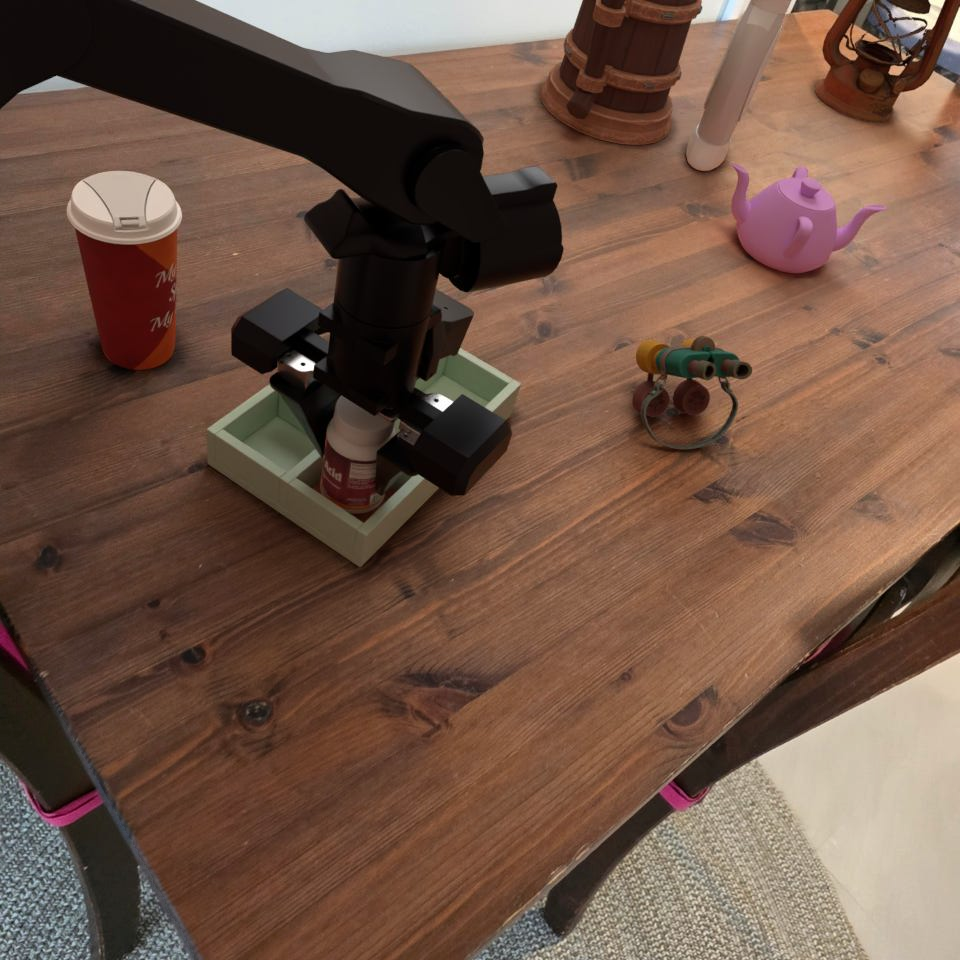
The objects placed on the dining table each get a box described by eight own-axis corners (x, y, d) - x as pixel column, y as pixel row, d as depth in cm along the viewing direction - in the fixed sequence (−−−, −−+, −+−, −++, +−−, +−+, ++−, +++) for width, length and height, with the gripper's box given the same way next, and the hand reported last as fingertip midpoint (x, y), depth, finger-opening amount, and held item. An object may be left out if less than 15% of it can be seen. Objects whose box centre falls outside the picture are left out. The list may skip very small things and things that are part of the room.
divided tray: (207, 463, 66) (206, 428, 63) (377, 335, 80) (383, 301, 77) (360, 568, 63) (366, 535, 60) (511, 415, 76) (521, 383, 74)
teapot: (848, 271, 105) (889, 206, 98) (765, 288, 99) (803, 220, 92) (783, 214, 111) (818, 149, 104) (701, 227, 105) (732, 158, 98)
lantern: (799, 97, 137) (907, -126, 115) (806, 69, 146) (908, -144, 124) (904, 136, 136) (1034, -82, 114) (905, 105, 144) (1026, -103, 122)
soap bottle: (731, 190, 112) (825, -13, 94) (674, 167, 113) (757, -39, 95) (749, 150, 121) (838, -43, 103) (696, 129, 122) (776, -66, 104)
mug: (501, 113, 113) (541, -58, 98) (573, 63, 128) (617, -93, 113) (630, 173, 110) (691, 5, 95) (688, 114, 125) (749, -39, 110)
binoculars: (705, 434, 83) (717, 327, 80) (765, 460, 75) (780, 342, 72) (616, 439, 80) (625, 328, 78) (668, 466, 72) (680, 343, 69)
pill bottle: (312, 470, 65) (321, 387, 59) (374, 462, 67) (389, 381, 61) (328, 520, 62) (339, 439, 56) (393, 511, 64) (410, 430, 58)
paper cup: (196, 373, 72) (190, 225, 62) (94, 384, 69) (69, 230, 59) (179, 312, 76) (171, 164, 66) (82, 319, 73) (58, 165, 63)
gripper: (582, 313, 55) (521, 478, 66) (344, 180, 59) (324, 356, 70) (488, 403, 48) (438, 571, 59) (224, 244, 52) (225, 429, 63)
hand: (355, 473), depth 63 cm, fingers closed on pill bottle, 5 cm apart
